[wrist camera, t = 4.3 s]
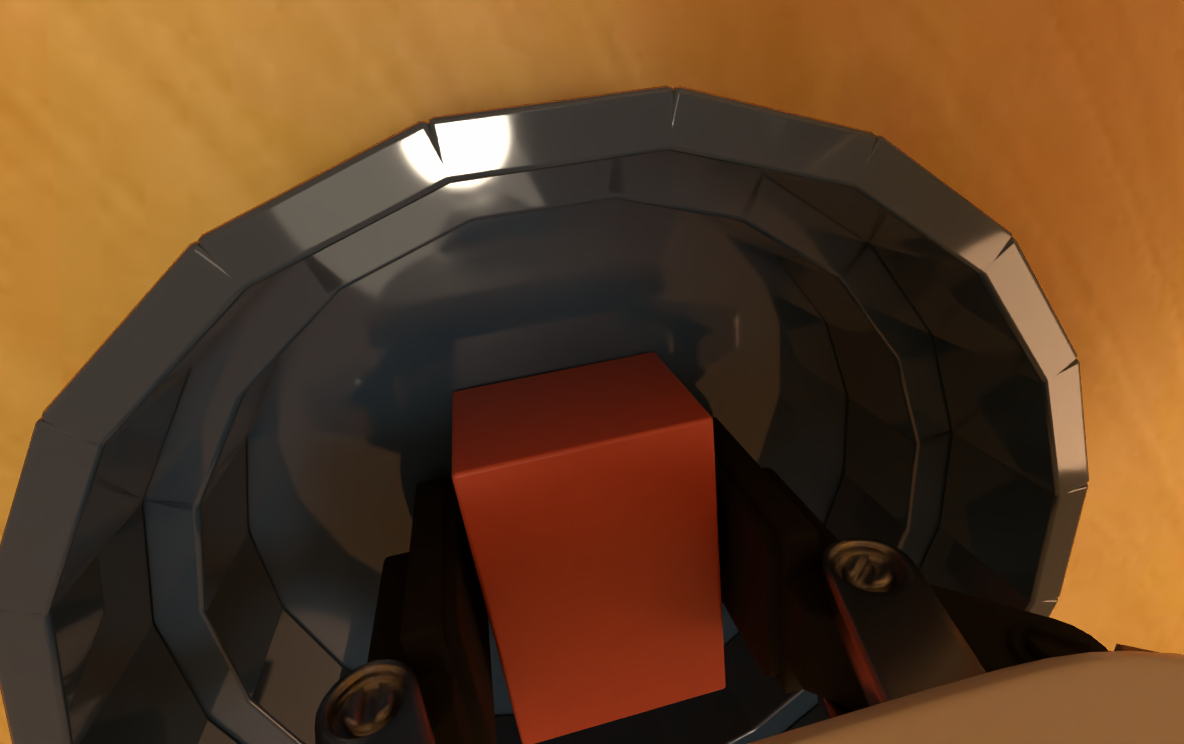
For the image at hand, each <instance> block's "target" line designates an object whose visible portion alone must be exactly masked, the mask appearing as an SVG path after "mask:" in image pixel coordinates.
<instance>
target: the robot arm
mask: <svg viewBox="0 0 1184 744" xmlns="http://www.w3.org/2000/svg"><path fill="white" fill-rule="evenodd" d="M712 419H713V432H714V453H715V474H716V494H717V515H718V536H719V557H720V578H721V599H722V602H723V604H724V606H725V608H726V609H727V611H728V613H729V615H730V616H731V618H732V620H733V622H734V624H735V625H736V627H737V629H738V631H739V632H740V634H741V636H742V638H743V640H744V641H745V643H746V645H747V647H748V648H749V650H750V652H751V654H752V656H753V657H754V659H755V661H756V663H757V664H758V666H759V668H760V670H761V671H762V673H763V675H764V676H765V677H767V678H769V677H773V676H774V677H775V679H776V680H777V682H778V684H779V686H780V687H781V689H782V691H783V692H784V694H788V693H792V692H795V691H798V690H802V689H803V690H806V691H808V692H811V693H813V694H816V695H817V698H818V704H819V707H820V710H821V712H822V715H823V718H824V721H820V722H817V723H814V724H810V725H807V726H804V727H800V728H797V729H794V730H790V731H787V732H784V733H780V734H777V735H774V736H771V737H767V738H764V739H761V740H757V741H754V742H751V743H748V744H1184V655H1181V654H1173V653H1159V652H1154V651H1149V650H1145V649H1140V648H1135V647H1130V646H1125V645H1120V644H1116V647H1115V650H1114V651H1108V650H1107V649H1106V647H1104V646H1103V645H1102V644H1101V643H1099V642H1098V641H1097V640H1096V639H1094V638H1093V637H1092V636H1091V635H1089V634H1087V633H1085V632H1083V631H1082V630H1080V629H1078V628H1076V627H1074V626H1072V625H1070V624H1067V623H1064V622H1061V621H1059V620H1056V619H1053V618H1049V617H1046V616H1042V615H1039V614H1035V613H1031V612H1028V611H1024V610H1021V609H1017V608H1014V607H1010V606H1006V605H1003V604H999V603H996V602H992V601H988V600H985V599H981V598H978V597H974V596H970V595H967V594H963V593H960V592H956V591H953V590H949V589H945V588H942V587H938V586H935V585H931V584H928V582H927V581H926V579H925V578H924V576H923V575H922V573H921V572H920V570H919V569H918V567H917V566H916V564H915V563H914V562H913V560H912V559H911V558H910V557H909V556H908V555H907V554H906V553H905V552H903V551H902V550H900V549H899V548H897V547H896V546H894V545H891V544H889V543H886V542H884V541H881V540H877V539H872V538H868V537H850V538H845V539H840V540H838V539H837V538H836V537H835V536H834V535H833V534H832V533H831V531H830V530H829V529H828V528H827V527H826V526H825V525H824V524H823V523H822V522H821V521H820V520H819V519H818V517H817V516H816V515H815V514H814V513H813V512H812V511H811V510H810V509H809V508H808V507H807V506H806V505H805V503H804V502H803V501H802V500H801V499H800V498H799V497H798V496H797V495H796V494H795V493H794V492H793V491H792V489H791V488H790V487H789V486H788V485H787V484H786V483H785V482H784V481H783V480H782V479H781V478H780V477H779V475H778V474H777V473H776V472H775V471H773V470H772V469H771V468H768V467H765V468H761V467H760V466H759V464H758V463H757V462H756V461H755V460H754V459H753V458H752V457H751V456H750V454H749V453H748V452H747V451H746V450H745V449H744V448H743V447H742V446H741V444H740V443H739V442H738V441H737V440H736V439H735V438H734V437H733V436H732V434H731V433H730V432H729V431H728V430H727V429H726V428H725V427H724V426H723V424H722V423H721V422H720V421H719V420H718V419H717V418H716V417H712ZM314 727H315V744H497V743H496V728H495V713H494V698H493V683H492V668H491V653H490V639H489V624H488V613H487V610H486V606H485V602H484V598H483V594H482V591H481V587H480V583H479V579H478V575H477V572H476V568H475V564H474V560H473V556H472V553H471V549H470V545H469V541H468V537H467V534H466V530H465V526H464V522H463V518H462V515H461V511H460V507H459V503H458V499H457V496H456V492H455V488H454V484H453V482H451V483H448V482H447V479H446V477H440V478H435V479H431V480H426V481H422V482H418V483H417V485H416V494H415V503H414V512H413V522H412V531H411V540H410V549H409V552H406V553H402V554H397V555H393V556H389V557H386V559H385V560H384V564H383V569H382V575H381V581H380V587H379V593H378V599H377V605H376V612H375V618H374V624H373V630H372V636H371V642H370V648H369V654H368V660H367V663H366V664H363V665H361V666H359V667H357V668H355V669H354V670H352V671H350V672H348V673H347V674H345V675H344V676H343V677H342V678H341V679H340V680H338V681H337V682H336V683H335V684H334V685H333V686H332V687H331V688H330V690H329V691H328V692H327V694H326V695H325V696H324V697H323V699H322V701H321V703H320V705H319V708H318V710H317V712H316V718H315V726H314Z"/></svg>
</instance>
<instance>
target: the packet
mask: <svg viewBox="0 0 1184 744" xmlns="http://www.w3.org/2000/svg"><path fill="white" fill-rule="evenodd" d="M452 480H453V484H454V488H455V492H456V496H457V499H458V503H459V507H460V511H461V515H462V518H463V522H464V526H465V530H466V534H467V537H468V541H469V545H470V549H471V553H472V556H473V560H474V564H475V568H476V572H477V575H478V579H479V583H480V587H481V591H482V594H483V598H484V602H485V606H486V610H487V613H488V617H489V621H490V625H491V629H492V632H493V636H494V640H495V644H496V648H497V651H498V655H499V659H500V663H501V667H502V670H503V674H504V678H505V682H506V686H507V689H508V693H509V697H510V701H511V705H512V708H513V712H514V716H515V720H516V724H517V727H518V731H519V735H520V739H521V743H522V744H535V743H539V742H542V741H546V740H549V739H553V738H556V737H559V736H563V735H566V734H570V733H573V732H577V731H580V730H583V729H587V728H590V727H594V726H597V725H601V724H604V723H608V722H611V721H614V720H618V719H621V718H625V717H628V716H632V715H635V714H639V713H642V712H645V711H649V710H652V709H656V708H659V707H663V706H666V705H669V704H673V703H676V702H680V701H683V700H687V699H690V698H694V697H697V696H700V695H704V694H707V693H711V692H714V691H718V690H721V689H724V688H725V686H726V683H725V662H724V641H723V620H722V599H721V578H720V557H719V536H718V515H717V494H716V474H715V453H714V432H713V419H712V417H711V416H710V414H709V413H708V412H707V411H706V410H705V409H704V408H703V407H702V405H701V404H700V403H699V402H698V401H697V400H696V399H695V397H694V396H693V395H692V394H691V393H690V392H689V391H688V390H687V388H686V387H685V386H684V385H683V384H682V383H681V382H680V381H679V379H678V378H677V377H676V376H675V375H674V374H673V373H672V371H671V370H670V369H669V368H668V367H667V366H666V365H665V364H664V362H663V361H662V360H661V359H660V358H659V357H658V356H657V355H656V353H654V352H650V353H645V354H640V355H635V356H630V357H625V358H620V359H615V360H610V361H605V362H600V363H595V364H590V365H585V366H580V367H575V368H570V369H565V370H560V371H555V372H550V373H545V374H540V375H535V376H530V377H525V378H520V379H515V380H510V381H505V382H500V383H495V384H490V385H485V386H480V387H475V388H470V389H465V390H460V391H456V392H454V393H453V396H452Z"/></svg>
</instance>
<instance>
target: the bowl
mask: <svg viewBox="0 0 1184 744" xmlns="http://www.w3.org/2000/svg"><path fill="white" fill-rule="evenodd" d="M650 352H654V353H656V355H657V356H658V357H659V358H660V359H661V360H662V361H663V362H664V364H665V365H666V366H667V367H668V368H669V369H670V370H671V371H672V373H673V374H674V375H675V376H676V377H677V378H678V379H679V381H680V382H681V383H682V384H683V385H684V386H685V387H686V388H687V390H688V391H689V392H690V393H691V394H692V395H693V396H694V397H695V399H696V400H697V401H698V402H699V403H700V404H701V405H702V407H703V408H704V409H705V410H706V411H707V412H708V413H709V414H710V416H711V417H716V418H717V419H718V420H719V421H720V422H721V423H722V424H723V426H724V427H725V428H726V429H727V430H728V431H729V432H730V433H731V434H732V436H733V437H734V438H735V439H736V440H737V441H738V442H739V443H740V444H741V446H742V447H743V448H744V449H745V450H746V451H747V452H748V453H749V454H750V456H751V457H752V458H753V459H754V460H755V461H756V462H757V463H758V464H759V466H760V467H761V468H765V467H768V468H771V469H772V470H773V471H775V472H776V473H777V474H778V475H779V477H780V478H781V479H782V480H783V481H784V482H785V483H786V484H787V485H788V486H789V487H790V488H791V489H792V491H793V492H794V493H795V494H796V495H797V496H798V497H799V498H800V499H801V500H802V501H803V502H804V503H805V505H806V506H807V507H808V508H809V509H810V510H811V511H812V512H813V513H814V514H815V515H816V516H817V517H818V519H819V520H820V521H821V522H822V523H823V524H824V525H825V526H826V527H827V528H828V529H829V530H830V531H831V533H832V534H833V535H834V536H835V537H836V538H837V539H838V540H840V539H845V538H850V537H868V538H872V539H877V540H881V541H884V542H886V543H889V544H891V545H894V546H896V547H897V548H899V549H900V550H902V551H903V552H905V553H906V554H907V555H908V556H909V557H910V558H911V559H912V560H913V562H914V563H915V564H916V566H917V567H918V569H919V570H920V572H921V573H922V575H923V576H924V578H925V579H926V581H927V582H928V584H931V585H935V586H938V587H942V588H945V589H949V590H953V591H956V592H960V593H963V594H967V595H970V596H974V597H978V598H981V599H985V600H988V601H992V602H996V603H999V604H1003V605H1006V606H1010V607H1014V608H1017V609H1021V610H1024V611H1028V612H1031V613H1035V614H1039V615H1042V616H1046V617H1049V616H1050V614H1051V612H1052V610H1053V609H1054V607H1055V605H1056V603H1057V602H1058V599H1057V598H1058V597H1059V596H1060V593H1061V590H1062V586H1063V582H1064V578H1065V574H1066V570H1067V566H1068V562H1069V559H1070V555H1071V551H1072V547H1073V543H1074V539H1075V535H1076V531H1077V528H1078V524H1079V520H1080V516H1081V512H1082V508H1083V504H1084V500H1085V497H1086V493H1087V489H1088V484H1087V482H1088V481H1089V473H1088V461H1087V449H1086V437H1085V424H1084V412H1083V400H1082V387H1081V375H1080V363H1079V361H1078V360H1077V359H1076V358H1077V354H1076V352H1075V350H1074V349H1073V347H1072V345H1071V343H1070V341H1069V339H1068V337H1067V335H1066V334H1065V332H1064V330H1063V328H1062V326H1061V324H1060V322H1059V320H1058V318H1057V317H1056V315H1055V313H1054V311H1053V309H1052V307H1051V305H1050V303H1049V302H1048V300H1047V298H1046V296H1045V294H1044V292H1043V290H1042V288H1041V286H1040V285H1039V283H1038V281H1037V279H1036V277H1035V275H1034V273H1033V271H1032V270H1031V268H1030V266H1029V264H1028V262H1027V260H1026V258H1025V256H1024V255H1023V253H1022V251H1021V249H1020V247H1019V245H1018V243H1017V241H1016V240H1015V239H1014V238H1013V237H1012V234H1011V233H1010V232H1009V231H1008V230H1006V229H1005V228H1004V227H1002V226H1001V225H1000V224H998V223H997V222H996V221H994V220H993V219H992V218H990V217H989V216H988V215H986V214H985V213H984V212H982V211H981V210H980V209H978V208H977V207H976V206H974V205H973V204H972V203H970V202H969V201H968V200H966V199H965V198H964V197H962V196H961V195H960V194H958V193H957V192H956V191H954V190H953V189H952V188H950V187H949V186H948V185H946V184H945V183H944V182H942V181H941V180H940V179H938V178H937V177H936V176H935V175H933V174H932V173H931V172H929V171H928V170H927V169H925V168H924V167H923V166H921V165H920V164H919V163H917V162H916V161H915V160H913V159H912V158H911V157H909V156H908V155H907V154H905V153H904V152H903V151H901V150H900V149H899V148H897V147H896V146H895V145H893V144H892V143H891V142H889V141H888V140H887V139H885V138H884V137H883V136H879V135H875V134H874V133H872V132H870V131H866V130H862V129H858V128H853V127H849V126H845V125H841V124H837V123H832V122H828V121H824V120H820V119H815V118H811V117H807V116H803V115H799V114H794V113H790V112H786V111H782V110H777V109H773V108H769V107H765V106H761V105H756V104H752V103H748V102H744V101H740V100H735V99H731V98H727V97H723V96H718V95H714V94H710V93H706V92H702V91H697V90H693V89H689V88H685V87H681V86H679V87H674V88H672V87H669V86H660V87H652V88H645V89H637V90H630V91H622V92H615V93H607V94H600V95H592V96H585V97H577V98H570V99H562V100H555V101H548V102H540V103H533V104H525V105H518V106H510V107H503V108H495V109H488V110H480V111H473V112H465V113H458V114H450V115H443V116H435V117H432V118H431V119H429V122H427V121H419V122H417V123H415V124H413V125H411V126H409V127H407V128H405V129H404V130H402V131H400V132H398V133H396V134H394V135H392V136H390V137H388V138H386V139H384V140H382V141H381V142H379V143H377V144H375V145H373V146H371V147H369V148H367V149H365V150H363V151H361V152H359V153H357V154H356V155H354V156H352V157H350V158H348V159H346V160H344V161H342V162H340V163H338V164H336V165H334V166H333V167H331V168H329V169H327V170H325V171H323V172H321V173H319V174H317V175H315V176H313V177H311V178H309V179H308V180H306V181H304V182H302V183H300V184H298V185H296V186H294V187H292V188H290V189H288V190H286V191H285V192H283V193H281V194H279V195H277V196H275V197H273V198H271V199H269V200H267V201H265V202H263V203H261V204H260V205H258V206H256V207H254V208H252V209H250V210H248V211H246V212H244V213H242V214H240V215H238V216H237V217H235V218H233V219H231V220H229V221H227V222H225V223H223V224H221V225H219V226H217V227H215V228H213V229H212V230H210V231H208V232H206V233H204V234H202V235H201V236H200V238H199V239H198V241H196V242H193V243H191V244H189V245H188V247H187V248H186V249H185V250H184V251H183V252H182V253H181V254H180V256H179V257H178V258H177V259H176V260H175V261H174V262H173V264H172V265H171V266H170V267H169V268H168V269H167V270H166V272H165V273H164V274H163V275H162V276H161V277H160V278H159V280H158V281H157V282H156V283H155V284H154V285H153V286H152V288H151V289H150V290H149V291H148V292H147V293H146V294H145V296H144V297H143V298H142V299H141V300H140V301H139V302H138V304H137V305H136V306H135V307H134V308H133V309H132V310H131V312H130V313H129V314H128V315H127V316H126V317H125V318H124V320H123V321H122V322H121V323H120V324H119V325H118V326H117V328H116V329H115V330H114V331H113V332H112V333H111V334H110V336H109V337H108V338H107V339H106V340H105V341H104V342H103V344H102V345H101V346H100V347H99V348H98V349H97V350H96V352H95V353H94V354H93V355H92V356H91V357H90V358H89V359H88V361H87V362H86V363H85V364H84V365H83V366H82V367H81V369H80V370H79V371H78V372H77V373H76V374H75V375H74V377H73V378H72V379H71V380H70V381H69V382H68V383H67V385H66V386H65V387H64V388H63V389H62V390H61V391H60V393H59V394H58V395H57V396H56V397H55V398H54V399H53V401H52V402H51V403H50V404H49V405H48V406H47V407H46V409H45V410H44V411H43V414H42V417H41V418H40V419H39V420H38V421H37V422H36V424H35V427H34V431H33V434H32V438H31V441H30V444H29V448H28V451H27V455H26V458H25V462H24V465H23V468H22V472H21V475H20V479H19V482H18V485H17V489H16V492H15V496H14V499H13V503H12V506H11V509H10V513H9V516H8V520H7V523H6V527H5V530H4V533H3V537H2V540H1V544H0V689H1V694H2V699H3V704H4V708H5V713H6V718H7V722H8V727H9V732H10V736H11V741H12V744H315V727H314V726H315V718H316V712H317V710H318V708H319V705H320V703H321V701H322V699H323V697H324V696H325V695H326V694H327V692H328V691H329V690H330V688H331V687H332V686H333V685H334V684H335V683H336V682H337V681H338V680H340V679H341V678H342V677H343V676H344V675H345V674H347V673H348V672H350V671H352V670H354V669H355V668H357V667H359V666H361V665H363V664H366V663H367V660H368V654H369V648H370V642H371V636H372V630H373V624H374V618H375V612H376V605H377V599H378V593H379V587H380V581H381V575H382V569H383V564H384V560H385V559H386V557H389V556H393V555H397V554H402V553H406V552H409V549H410V540H411V531H412V522H413V512H414V503H415V494H416V485H417V483H418V482H422V481H426V480H431V479H435V478H440V477H446V479H447V482H448V483H451V482H453V480H452V396H453V393H454V392H456V391H460V390H465V389H470V388H475V387H480V386H485V385H490V384H495V383H500V382H505V381H510V380H515V379H520V378H525V377H530V376H535V375H540V374H545V373H550V372H555V371H560V370H565V369H570V368H575V367H580V366H585V365H590V364H595V363H600V362H605V361H610V360H615V359H620V358H625V357H630V356H635V355H640V354H645V353H650ZM722 620H723V641H724V662H725V683H726V686H725V688H724V689H721V690H718V691H714V692H711V693H707V694H704V695H700V696H697V697H694V698H690V699H687V700H683V701H680V702H676V703H673V704H669V705H666V706H663V707H659V708H656V709H652V710H649V711H645V712H642V713H639V714H635V715H632V716H628V717H625V718H621V719H618V720H614V721H611V722H608V723H604V724H601V725H597V726H594V727H590V728H587V729H583V730H580V731H577V732H573V733H570V734H566V735H563V736H559V737H556V738H553V739H549V740H546V741H542V742H539V743H535V744H748V743H751V742H754V741H757V740H761V739H764V738H767V737H771V736H774V735H777V734H780V733H784V732H787V731H790V730H794V729H797V728H800V727H804V726H807V725H810V724H814V723H817V722H820V721H824V718H823V715H822V712H821V710H820V707H819V704H818V698H817V695H816V694H813V693H811V692H808V691H806V690H803V689H802V690H798V691H795V692H792V693H788V694H784V692H783V691H782V689H781V687H780V686H779V684H778V682H777V680H776V679H775V677H774V676H773V677H769V678H767V677H765V676H764V675H763V673H762V671H761V670H760V668H759V666H758V664H757V663H756V661H755V659H754V657H753V656H752V654H751V652H750V650H749V648H748V647H747V645H746V643H745V641H744V640H743V638H742V636H741V634H740V632H739V631H738V629H737V627H736V625H735V624H734V622H733V620H732V618H731V616H730V615H729V613H728V611H727V609H726V608H725V606H724V604H723V602H722ZM488 624H489V639H490V653H491V668H492V683H493V698H494V713H495V728H496V743H497V744H522V743H521V739H520V735H519V731H518V727H517V724H516V720H515V716H514V712H513V708H512V705H511V701H510V697H509V693H508V689H507V686H506V682H505V678H504V674H503V670H502V667H501V663H500V659H499V655H498V651H497V648H496V644H495V640H494V636H493V632H492V629H491V625H490V621H489V617H488Z"/></svg>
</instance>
